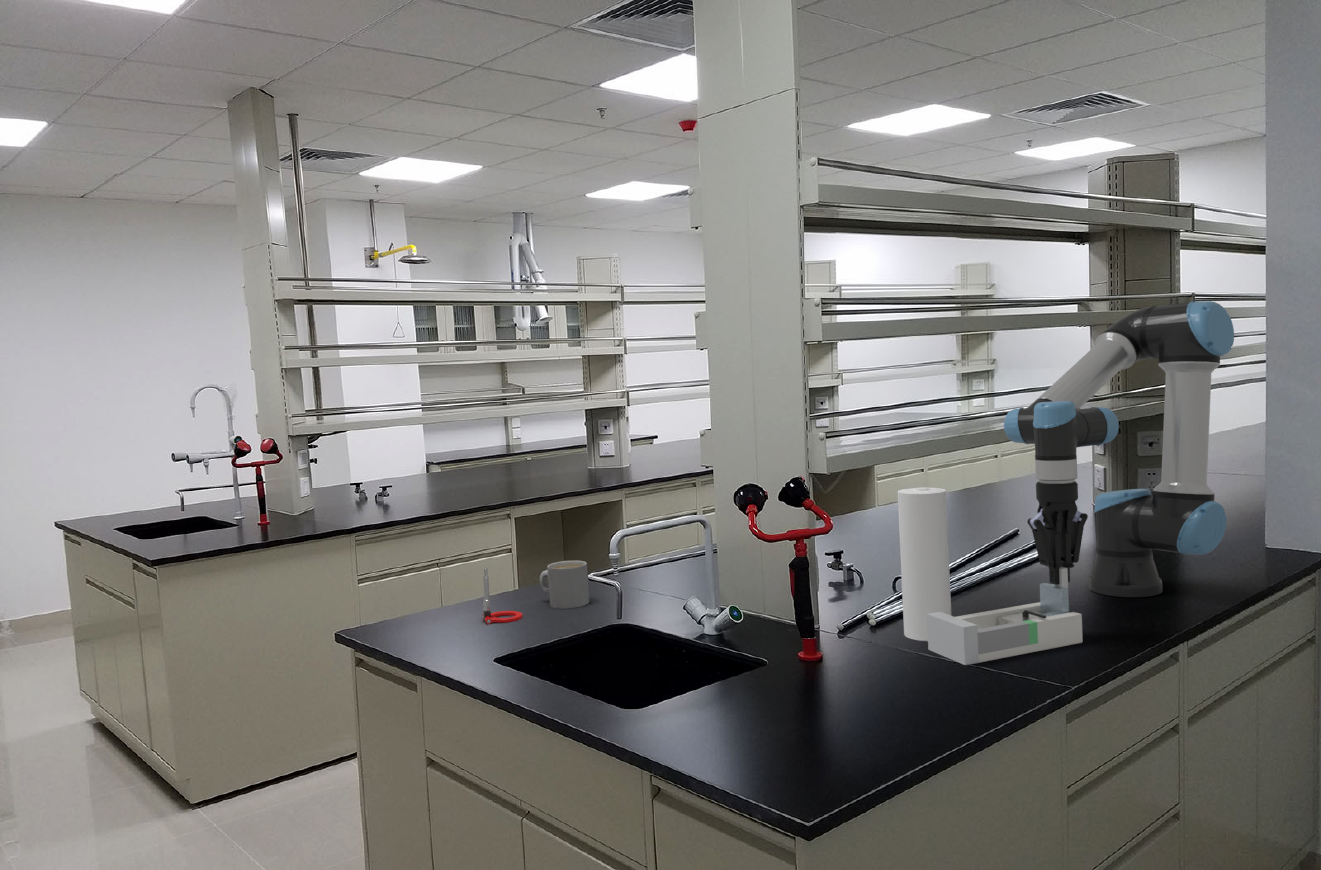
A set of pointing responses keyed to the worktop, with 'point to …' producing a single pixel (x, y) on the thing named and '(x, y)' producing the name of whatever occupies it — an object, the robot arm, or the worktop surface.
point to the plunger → (1042, 605)
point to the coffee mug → (566, 584)
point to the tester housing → (999, 634)
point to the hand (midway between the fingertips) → (1060, 599)
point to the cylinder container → (923, 557)
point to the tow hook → (490, 616)
